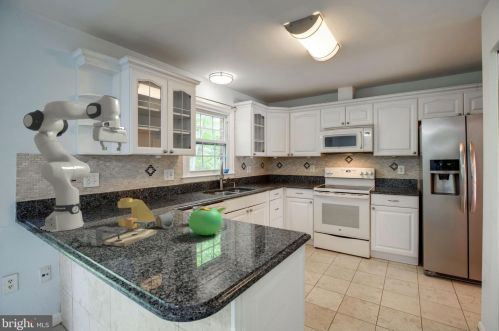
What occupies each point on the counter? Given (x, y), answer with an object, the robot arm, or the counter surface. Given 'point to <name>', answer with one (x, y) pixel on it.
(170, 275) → the counter surface
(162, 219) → the ceramic mug
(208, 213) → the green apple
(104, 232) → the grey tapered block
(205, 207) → the mug
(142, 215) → the clamp
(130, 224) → the sliding leg
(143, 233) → the bolt plate
